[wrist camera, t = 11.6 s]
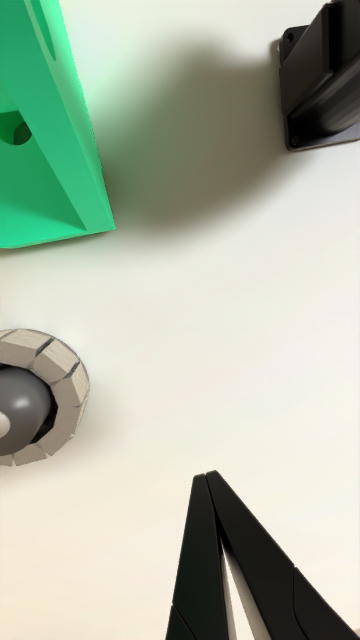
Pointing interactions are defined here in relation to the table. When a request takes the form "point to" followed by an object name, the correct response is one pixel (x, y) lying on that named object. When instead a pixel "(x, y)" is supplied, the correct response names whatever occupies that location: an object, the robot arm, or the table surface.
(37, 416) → the cap
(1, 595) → the table surface
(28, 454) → the grey piece
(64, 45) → the camera mount
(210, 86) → the table surface
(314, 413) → the table surface
